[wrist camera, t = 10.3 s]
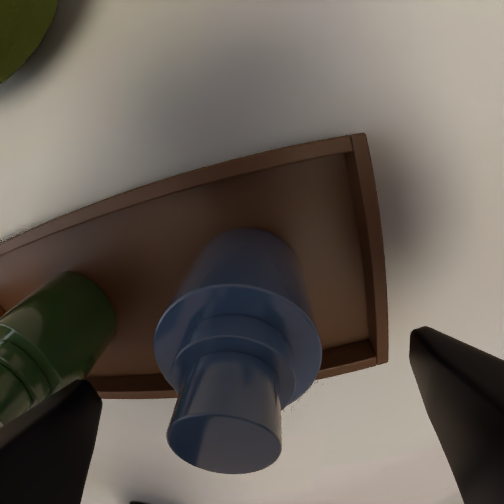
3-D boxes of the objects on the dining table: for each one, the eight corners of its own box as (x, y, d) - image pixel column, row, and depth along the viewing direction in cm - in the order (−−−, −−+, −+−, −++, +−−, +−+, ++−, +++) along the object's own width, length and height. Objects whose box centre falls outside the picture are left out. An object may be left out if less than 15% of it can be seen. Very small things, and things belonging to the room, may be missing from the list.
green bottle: (69, 349, 16) (-5, 446, 7) (35, 279, 14) (-66, 360, 6) (131, 344, 15) (58, 470, 7) (94, 262, 13) (-26, 365, 5)
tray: (10, 374, 18) (-2, 388, 16) (-43, 266, 15) (-60, 276, 13) (376, 338, 15) (388, 362, 13) (350, 134, 12) (366, 132, 10)
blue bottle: (212, 334, 14) (169, 492, 6) (179, 241, 13) (72, 372, 5) (311, 316, 14) (344, 481, 6) (290, 215, 12) (330, 341, 4)
